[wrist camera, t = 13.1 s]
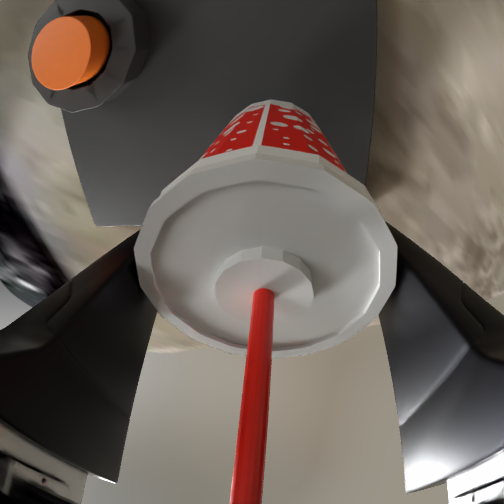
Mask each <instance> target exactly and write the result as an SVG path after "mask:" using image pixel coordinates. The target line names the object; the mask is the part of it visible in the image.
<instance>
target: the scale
mask: <svg viewBox="0 0 504 504" xmlns="http://www.w3.org/2000/svg"><path fill="white" fill-rule="evenodd" d="M85 15H87V16H92V17H95V18H97V19H99V20H100V21H101V22H102V23H103V24H104V25H105V27H106V29H107V31H108V34H109V38H110V49H109V54H108V57H107V60H106V62H105V64H104V66H103V67H102V69H101V70H100V71H99V72H98V73H97V74H96V75H95V76H94V77H92V78H91V79H89V80H87V81H84V82H82V83H79V84H76V85H74V86H71V87H69V88H66V89H63V90H52V89H49V88H47V87H45V86H43V85H42V84H41V83H40V82H39V81H38V79H37V78H36V76H35V74H34V71H33V68H32V49H33V45H34V42H35V40H36V38H37V36H38V34H39V33H40V31H41V30H42V29H43V28H44V27H45V26H46V25H47V24H48V23H49V22H51V21H52V20H54V19H56V18H59V17H63V16H85ZM376 57H377V0H55V2H54V3H53V4H52V5H51V6H50V7H49V9H48V10H47V11H46V12H45V13H44V15H43V16H42V17H41V18H40V20H39V21H38V22H37V24H36V26H35V29H34V32H33V36H32V40H31V43H30V47H29V51H28V60H29V66H30V72H31V78H32V82H33V85H34V86H35V87H36V89H37V90H38V91H39V93H40V94H41V95H42V97H43V98H44V99H45V101H46V102H47V103H48V104H50V105H52V106H55V107H58V108H61V110H62V115H63V119H64V123H65V128H66V132H67V136H68V140H69V143H70V147H71V151H72V155H73V158H74V162H75V165H76V168H77V172H78V175H79V178H80V182H81V185H82V188H83V191H84V194H85V197H86V200H87V203H88V206H89V209H90V212H91V215H92V218H93V220H94V223H95V226H96V227H104V226H137V225H142V224H143V222H144V219H145V217H146V214H147V211H148V209H149V207H150V206H151V204H152V203H153V201H155V200H156V199H157V198H158V197H159V196H160V194H161V192H162V190H163V189H164V188H166V187H167V186H168V185H169V184H170V183H172V182H173V181H174V180H175V179H176V178H178V177H179V176H180V175H181V174H182V173H184V172H185V171H186V170H187V169H189V168H190V167H191V166H192V165H194V164H195V163H196V162H197V161H199V159H200V158H201V157H202V155H203V154H204V153H205V152H206V150H207V149H208V148H209V147H210V146H211V144H212V143H213V142H214V141H215V139H216V138H217V137H218V136H219V135H220V133H221V132H222V131H223V130H224V129H225V127H226V126H227V125H228V124H229V123H230V121H231V120H232V119H233V118H234V117H235V116H236V115H237V114H238V113H240V112H241V111H242V110H244V109H245V108H247V107H248V106H249V105H251V104H254V103H258V102H262V101H266V100H278V101H284V102H290V103H293V104H294V105H296V106H298V107H299V108H301V109H303V110H304V111H306V112H308V113H309V114H310V116H311V117H312V119H313V120H314V121H315V123H316V124H317V126H318V127H319V128H320V130H321V132H322V133H323V135H324V136H325V138H326V139H327V141H328V143H329V144H330V146H331V147H332V149H333V151H334V152H335V154H336V155H337V157H338V159H339V160H340V162H341V164H342V165H343V167H344V169H345V171H346V172H347V174H349V175H350V176H352V177H353V178H355V179H356V180H357V181H359V182H360V183H362V184H363V185H365V183H366V176H367V168H368V160H369V152H370V143H371V133H372V122H373V111H374V97H375V81H376Z"/></svg>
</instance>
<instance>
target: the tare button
mask: <svg viewBox="0 0 504 504" xmlns="http://www.w3.org/2000/svg"><path fill="white" fill-rule="evenodd" d="M109 49H110V38H109V34H108V31H107V29H106V27H105V25H104V24H103V23H102V22H101V21H100V20H99V19H97V18H95V17H92V16H87V15H85V16H63V17H59V18H56V19H54V20H52V21H51V22H49V23H48V24H47V25H46V26H45V27H44V28H43V29H42V30H41V31H40V33H39V34H38V36H37V38H36V40H35V42H34V45H33V49H32V68H33V71H34V74H35V76H36V78H37V79H38V81H39V82H40V83H41V84H42V85H43V86H45V87H47V88H49V89H52V90H63V89H66V88H69V87H71V86H74V85H76V84H79V83H82V82H84V81H87V80H89V79H91V78H92V77H94V76H95V75H96V74H97V73H98V72H99V71H100V70H101V69H102V67H103V66H104V64H105V62H106V60H107V57H108V54H109Z"/></svg>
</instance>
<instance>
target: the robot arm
mask: <svg viewBox="0 0 504 504" xmlns="http://www.w3.org/2000/svg"><path fill="white" fill-rule="evenodd" d="M386 224H387V226H388V228H389V230H390V232H391V233H392V235H393V237H394V240H395V242H396V244H397V269H396V285H395V288H394V289H393V291H392V293H391V295H390V296H389V298H388V300H387V301H386V303H385V305H384V306H383V308H382V310H381V311H380V313H379V319H380V323H381V327H382V331H383V336H384V341H385V346H386V350H387V355H388V360H389V365H390V371H391V376H392V382H393V387H394V393H395V400H396V406H397V413H398V420H399V425H400V426H399V428H400V436H401V444H402V453H403V464H404V475H405V489H406V493H411V492H416V491H419V490H423V489H427V488H431V487H434V486H438V485H441V484H444V483H447V487H448V497H449V504H504V315H503V314H501V313H500V312H499V311H498V310H496V309H495V308H494V307H493V306H491V305H490V304H489V303H488V302H486V301H485V300H484V299H483V298H482V297H480V296H479V295H478V294H477V293H476V292H474V291H473V290H472V289H471V288H470V287H469V286H468V285H466V284H465V283H463V281H462V280H460V279H459V278H458V277H457V276H456V275H454V274H453V273H452V272H451V271H450V270H448V269H447V268H446V267H445V266H443V265H442V264H441V263H440V262H439V261H437V260H436V259H435V258H434V257H432V256H431V255H430V254H428V253H427V252H426V251H425V250H423V249H422V248H421V247H419V246H418V245H417V244H415V243H414V242H413V241H412V240H410V239H409V238H408V237H406V236H405V235H404V234H402V233H401V232H399V231H398V230H397V229H395V228H394V227H393V226H391V225H390V224H388V223H387V222H386ZM140 230H141V229H140ZM140 230H139V231H137V232H136V233H135V234H133V235H132V236H130V237H129V238H127V239H126V240H124V241H123V242H122V243H120V244H119V245H117V246H116V247H114V248H113V249H112V250H110V251H109V252H107V253H106V254H105V255H103V256H102V257H101V258H99V259H98V260H96V261H95V262H94V263H92V264H91V265H90V266H88V267H87V268H86V269H84V270H83V271H82V272H80V273H79V274H78V275H76V276H75V277H74V278H72V280H70V281H68V282H67V283H66V284H64V285H63V286H62V287H61V288H59V289H58V290H57V291H55V292H54V293H53V294H51V295H50V296H49V297H47V298H46V299H44V300H43V301H42V302H40V303H39V304H37V305H36V306H35V307H33V308H32V309H30V310H29V311H28V312H26V313H25V314H23V315H22V316H21V317H20V318H18V319H16V320H15V321H14V322H12V323H11V324H10V325H8V326H7V327H5V328H4V329H2V330H0V504H81V502H82V497H83V493H84V488H85V484H86V479H87V475H91V476H94V477H97V478H100V479H103V480H106V481H109V482H113V483H117V481H118V477H119V471H120V466H121V461H122V455H123V450H124V445H125V440H126V434H127V430H128V426H129V421H130V419H129V418H130V416H131V411H132V406H133V402H134V398H135V394H136V390H137V385H138V381H139V377H140V373H141V369H142V365H143V362H144V358H145V354H146V350H147V346H148V343H149V339H150V335H151V332H152V328H153V325H154V321H155V318H156V314H157V310H156V308H155V307H154V305H153V304H152V303H151V301H150V300H149V298H148V297H147V295H146V294H145V292H144V291H143V289H142V288H141V286H140V283H139V277H138V272H137V266H136V260H135V254H134V246H135V243H136V241H137V238H138V235H139V232H140Z"/></svg>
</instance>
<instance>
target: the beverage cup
mask: <svg viewBox="0 0 504 504" xmlns="http://www.w3.org/2000/svg"><path fill="white" fill-rule="evenodd" d="M134 254H135V260H136V266H137V272H138V277H139V283H140V286H141V288H142V289H143V291H144V292H145V294H146V295H147V297H148V298H149V300H150V301H151V303H152V304H153V305H154V307H155V308H156V310H157V311H158V313H159V314H160V315H161V317H163V318H164V319H165V320H167V321H168V322H169V323H171V324H172V325H173V326H175V327H176V328H177V329H179V330H180V331H182V332H183V333H184V334H186V335H187V336H188V337H190V338H191V339H193V340H195V341H198V342H200V343H203V344H206V345H208V346H211V347H213V348H216V349H219V350H222V351H224V352H227V353H229V354H237V355H245V356H247V357H246V366H245V376H244V384H243V393H242V402H241V411H240V420H239V429H238V438H237V445H236V454H235V463H234V472H233V480H232V489H231V498H230V504H261V503H262V492H263V480H264V467H265V454H266V440H267V426H268V411H269V396H270V378H271V361H272V360H271V359H272V358H283V357H292V356H302V355H310V354H312V353H315V352H318V351H321V350H323V349H326V348H329V347H332V346H335V345H337V344H340V343H343V342H345V341H347V340H348V339H350V338H351V337H352V336H354V335H355V334H356V333H358V332H359V331H360V330H362V329H363V328H364V327H366V326H367V325H368V324H369V323H371V322H372V321H373V320H375V319H376V318H377V316H378V314H379V313H380V311H381V310H382V308H383V306H384V305H385V303H386V301H387V300H388V298H389V296H390V295H391V293H392V291H393V289H394V288H395V285H396V269H397V244H396V242H395V240H394V237H393V235H392V233H391V232H390V230H389V228H388V226H387V224H386V222H385V220H384V218H383V217H382V215H381V213H380V211H379V209H378V207H377V206H376V204H375V202H374V200H373V199H372V197H371V196H370V194H369V192H368V190H367V189H366V187H365V185H363V184H362V183H360V182H359V181H357V180H356V179H355V178H353V177H352V176H350V175H349V174H347V172H346V171H345V169H344V167H343V165H342V164H341V162H340V160H339V159H338V157H337V155H336V154H335V152H334V151H333V149H332V147H331V146H330V144H329V143H328V141H327V139H326V138H325V136H324V135H323V133H322V132H321V130H320V128H319V127H318V126H317V124H316V123H315V121H314V120H313V119H312V117H311V116H310V114H309V113H308V112H306V111H304V110H303V109H301V108H299V107H298V106H296V105H294V104H293V103H290V102H284V101H278V100H266V101H262V102H258V103H254V104H251V105H249V106H248V107H247V108H245V109H244V110H242V111H241V112H240V113H238V114H237V115H236V116H235V117H234V118H233V119H232V120H231V121H230V123H229V124H228V125H227V126H226V127H225V129H224V130H223V131H222V132H221V133H220V135H219V136H218V137H217V138H216V139H215V141H214V142H213V143H212V144H211V146H210V147H209V148H208V149H207V150H206V152H205V153H204V154H203V155H202V157H201V158H200V159H199V161H197V162H196V163H195V164H194V165H192V166H191V167H190V168H189V169H187V170H186V171H185V172H184V173H182V174H181V175H180V176H179V177H178V178H176V179H175V180H174V181H173V182H172V183H170V184H169V185H168V186H167V187H166V188H164V189H163V190H162V192H161V194H160V196H159V197H158V198H157V199H156V200H155V201H153V203H152V204H151V206H150V207H149V209H148V211H147V214H146V217H145V219H144V222H143V224H142V227H141V230H140V232H139V235H138V238H137V241H136V243H135V246H134Z"/></svg>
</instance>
